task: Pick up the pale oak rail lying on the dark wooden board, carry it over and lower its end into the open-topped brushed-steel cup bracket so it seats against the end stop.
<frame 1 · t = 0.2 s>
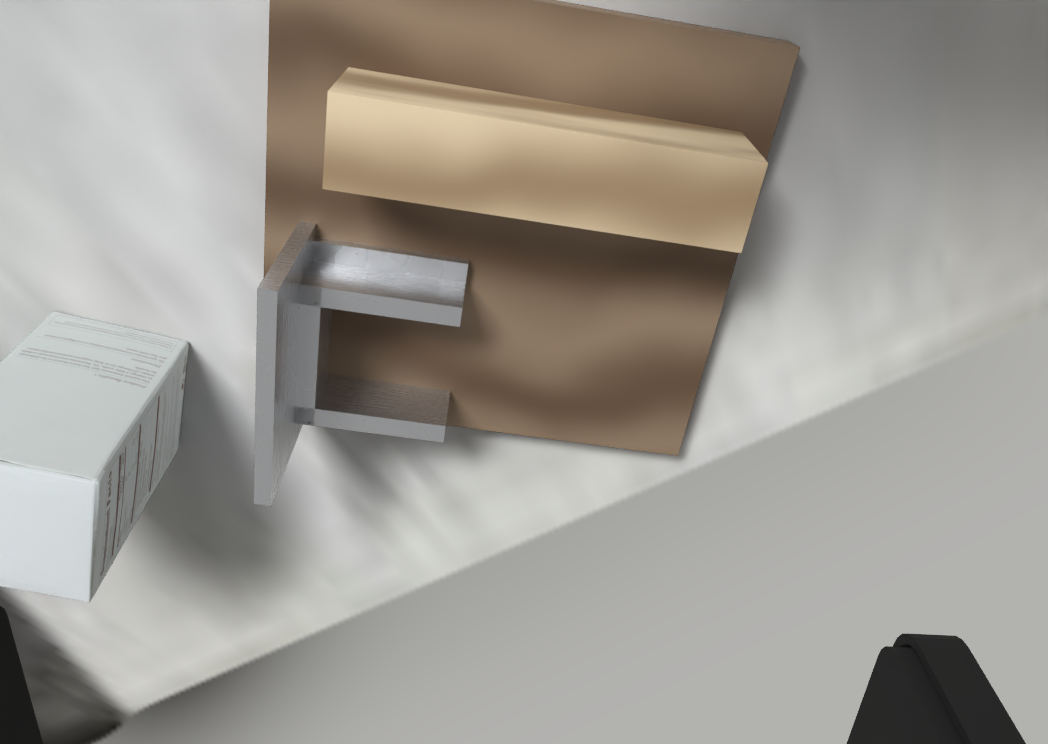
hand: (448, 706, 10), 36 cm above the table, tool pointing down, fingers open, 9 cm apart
bracket: (385, 334, 46), resting on board
supplement box: (122, 379, 49), on the table
board: (504, 230, 45), on the table
rail: (541, 143, 41), point 1 cm above the table, touching board
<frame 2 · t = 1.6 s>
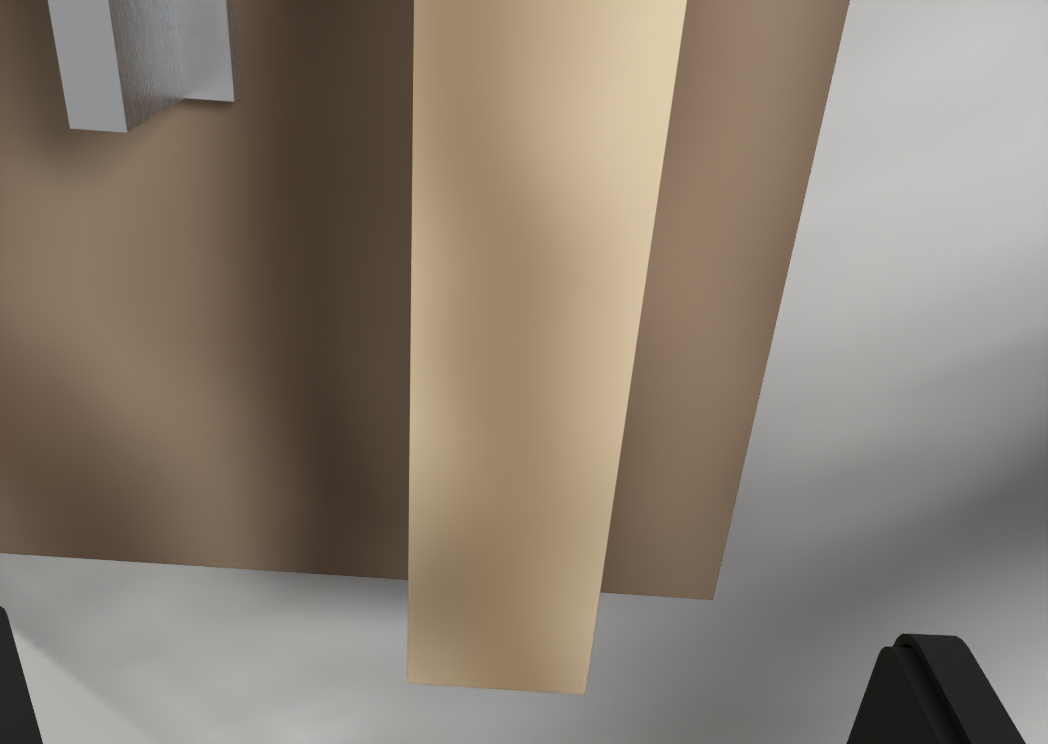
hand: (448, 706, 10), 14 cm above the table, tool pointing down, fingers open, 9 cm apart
board: (318, 154, 21), on the table
rail: (528, 232, 20), point 1 cm above the table, touching board
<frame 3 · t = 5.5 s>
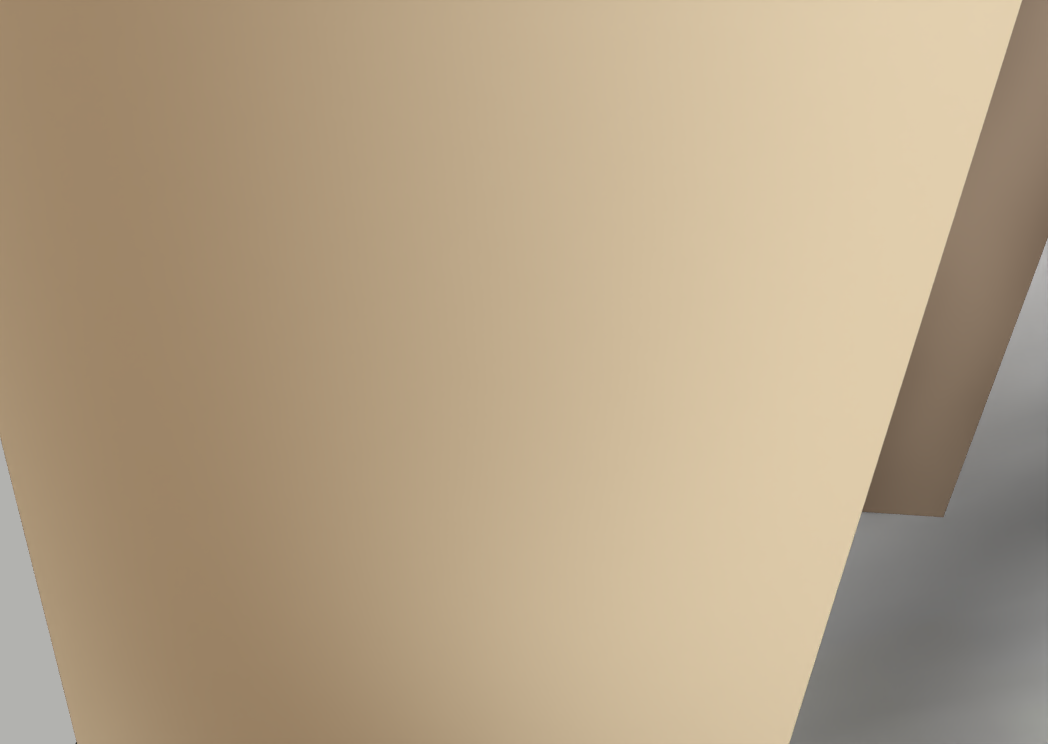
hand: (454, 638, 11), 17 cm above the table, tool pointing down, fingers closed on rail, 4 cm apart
board: (651, 123, 24), on the table
rail: (463, 541, 11), point 16 cm above the table, touching gripper
when the fingers open (3 cm above the table, at t = 8.1 s): rail stays where it is, resting on board.
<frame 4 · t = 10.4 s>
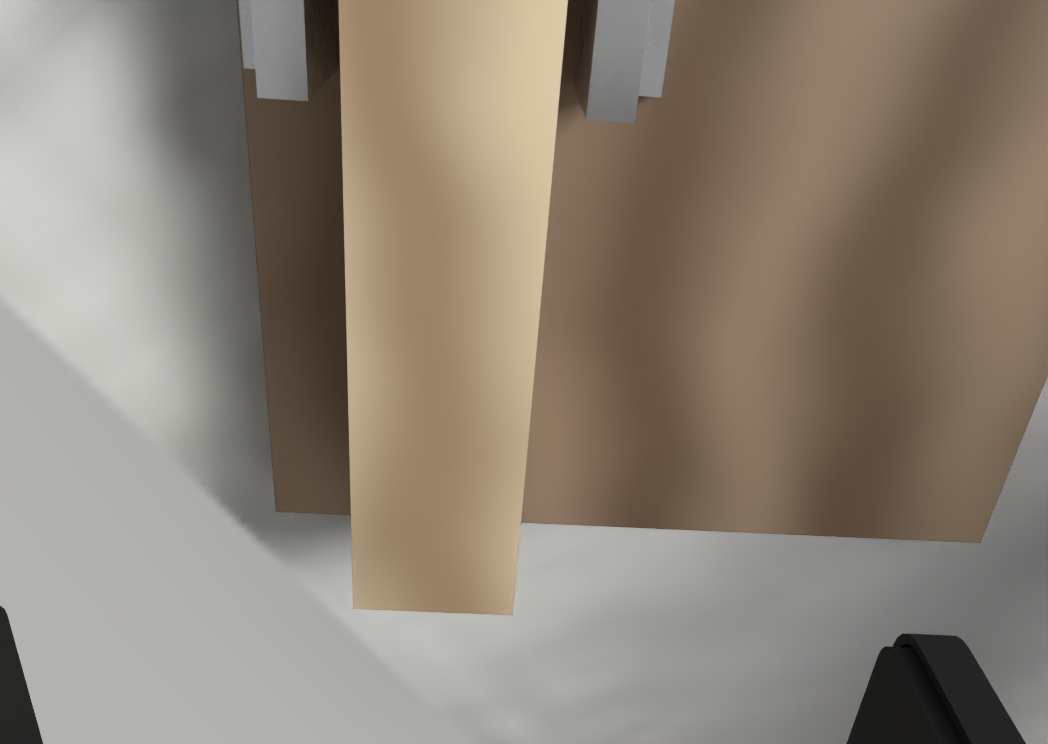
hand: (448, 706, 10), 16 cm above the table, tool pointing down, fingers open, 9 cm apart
board: (685, 144, 23), on the table
rail: (455, 204, 22), point 1 cm above the table, touching board
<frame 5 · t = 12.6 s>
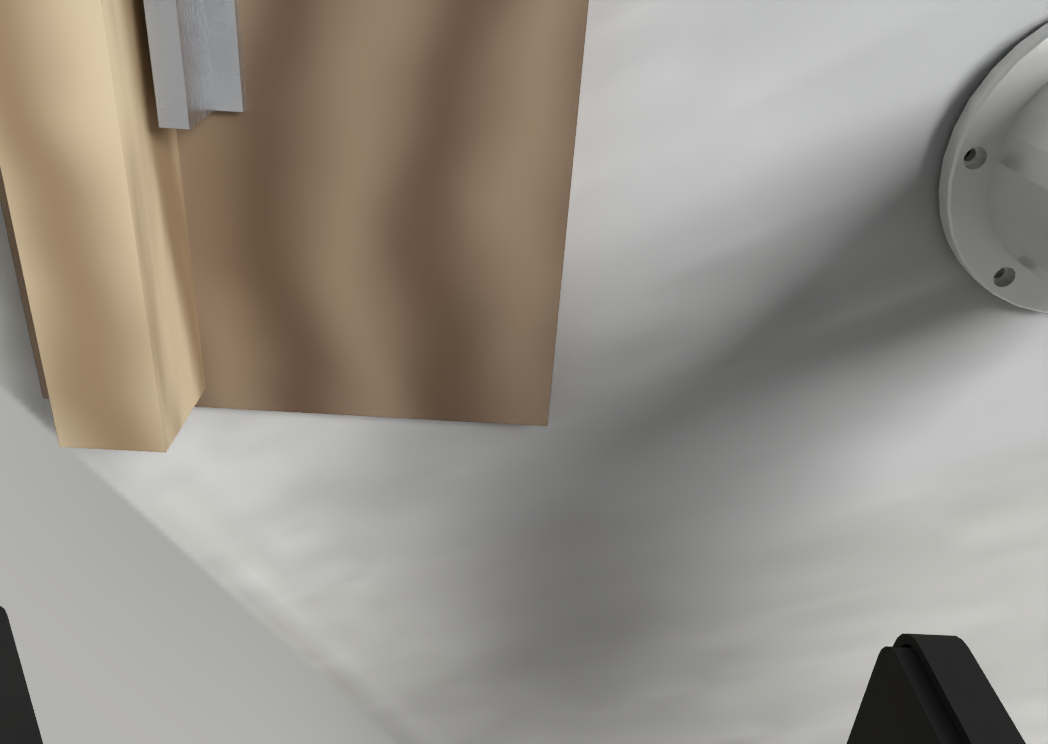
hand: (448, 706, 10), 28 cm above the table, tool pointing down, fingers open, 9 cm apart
board: (291, 142, 35), on the table
rail: (129, 181, 34), point 1 cm above the table, touching board
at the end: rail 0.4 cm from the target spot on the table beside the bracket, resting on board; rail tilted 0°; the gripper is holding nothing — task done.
